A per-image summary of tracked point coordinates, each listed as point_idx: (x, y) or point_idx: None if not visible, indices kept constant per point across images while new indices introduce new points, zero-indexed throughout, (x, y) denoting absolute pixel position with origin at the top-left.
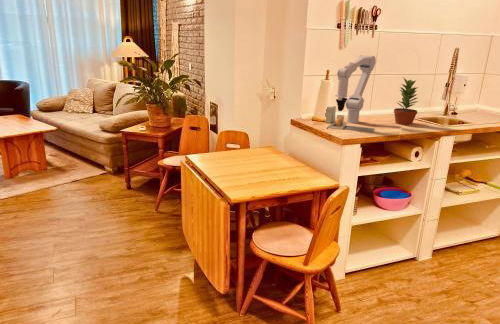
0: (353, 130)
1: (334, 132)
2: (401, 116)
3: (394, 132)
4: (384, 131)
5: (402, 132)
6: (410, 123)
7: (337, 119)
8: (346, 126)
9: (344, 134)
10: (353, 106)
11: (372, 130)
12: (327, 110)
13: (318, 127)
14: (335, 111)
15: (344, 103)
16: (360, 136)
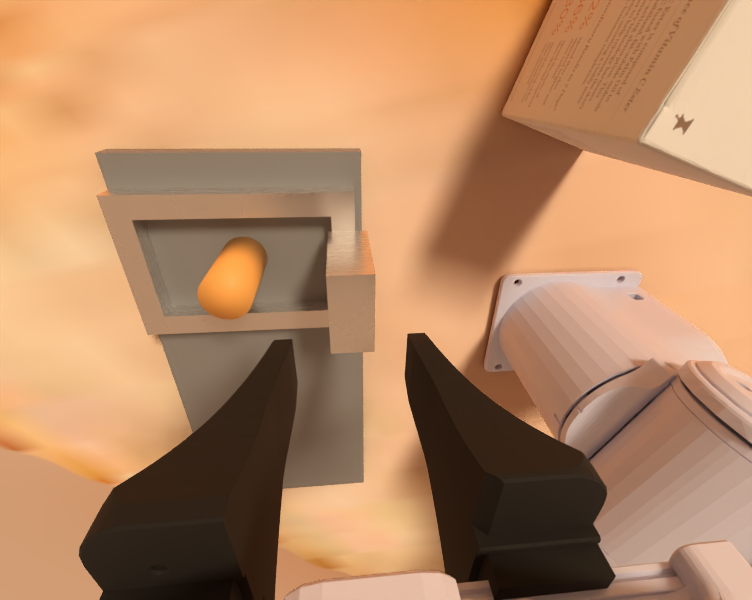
0: (188, 397)
1: (39, 261)
2: None
3: (354, 539)
4: (352, 508)
5: (375, 558)
6: None
7: (224, 287)
8: None
9: (45, 350)
10: (603, 471)
11: (285, 481)
12: (643, 31)
13: (136, 5)
14: (681, 176)
15: (432, 485)
16: (89, 444)
